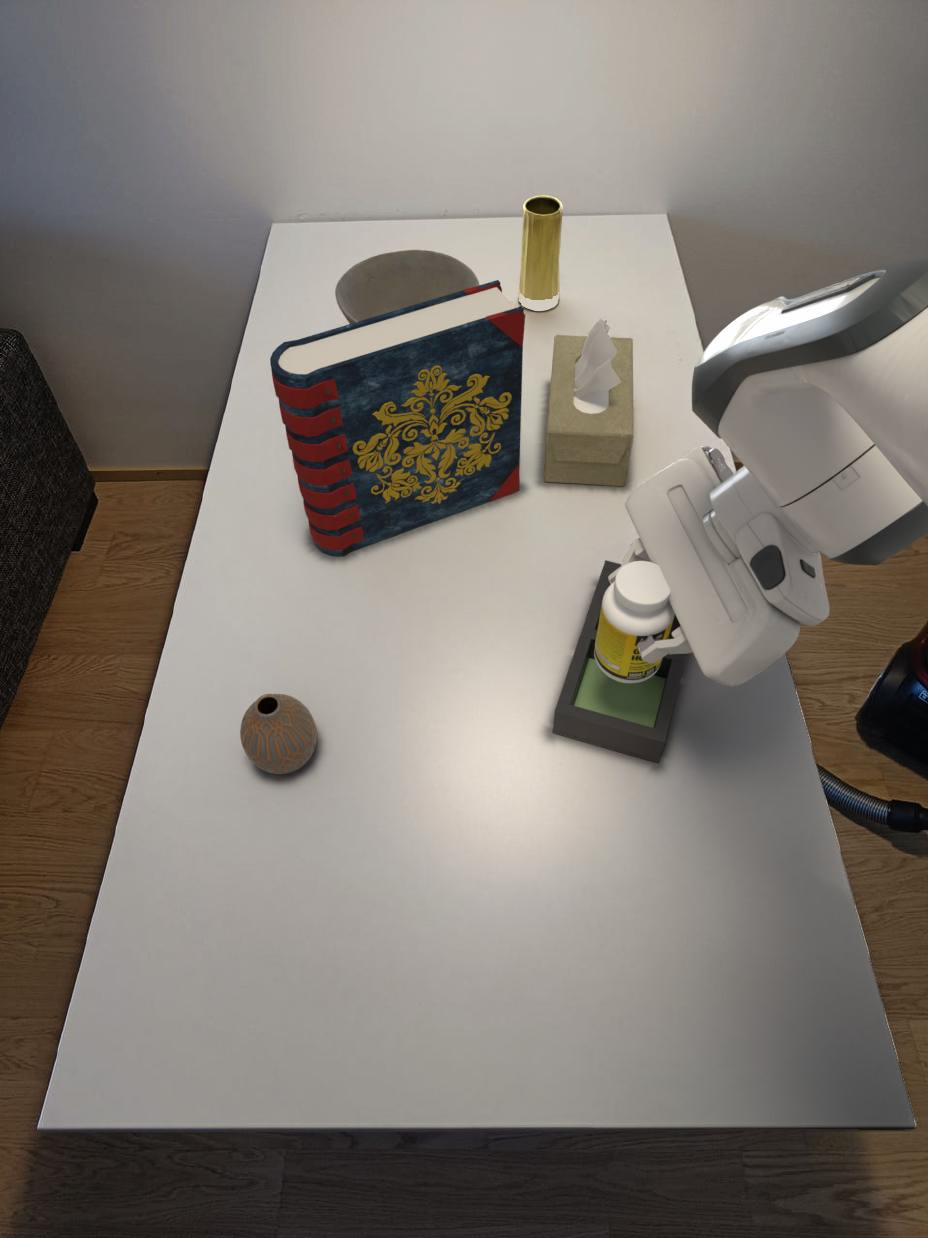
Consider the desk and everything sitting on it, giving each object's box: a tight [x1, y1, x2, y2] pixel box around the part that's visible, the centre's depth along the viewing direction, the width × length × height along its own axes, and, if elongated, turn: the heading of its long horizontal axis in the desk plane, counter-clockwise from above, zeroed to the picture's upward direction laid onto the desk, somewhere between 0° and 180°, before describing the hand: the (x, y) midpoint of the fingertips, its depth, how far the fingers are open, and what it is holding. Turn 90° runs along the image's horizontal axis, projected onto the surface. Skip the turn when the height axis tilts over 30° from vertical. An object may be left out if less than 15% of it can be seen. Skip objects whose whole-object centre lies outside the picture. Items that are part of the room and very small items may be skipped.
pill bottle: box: [594, 561, 675, 683], centre depth 77 cm, size 6×6×11 cm
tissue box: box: [543, 317, 634, 487], centre depth 105 cm, size 19×10×16 cm, turn 174°
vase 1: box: [239, 693, 318, 775], centre depth 82 cm, size 7×7×9 cm
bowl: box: [334, 249, 480, 324], centre depth 118 cm, size 19×19×10 cm
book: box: [269, 279, 526, 557], centre depth 94 cm, size 25×7×25 cm, turn 115°
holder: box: [552, 560, 688, 764], centre depth 89 cm, size 20×10×4 cm, turn 161°
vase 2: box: [517, 195, 564, 300], centre depth 123 cm, size 6×6×14 cm
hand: (628, 620), depth 76 cm, fingers closed on pill bottle, 6 cm apart
